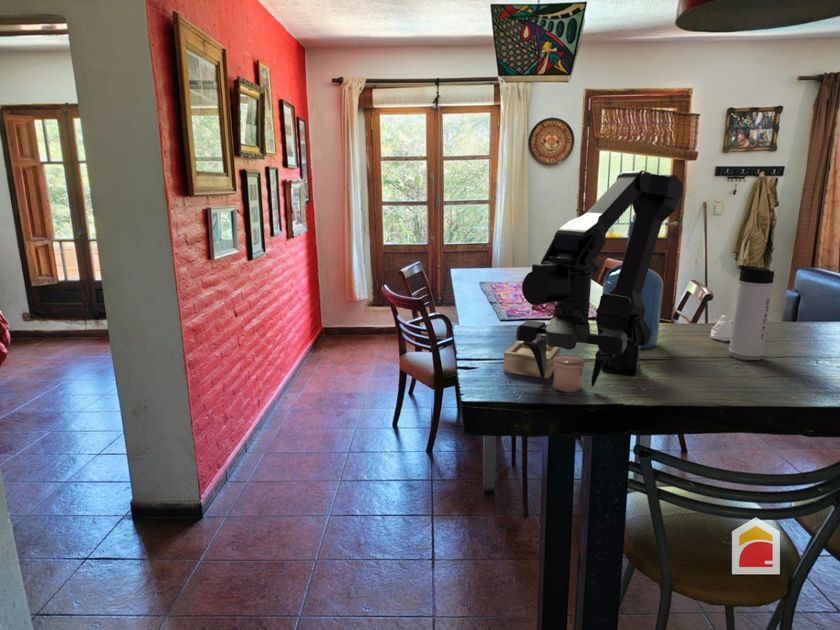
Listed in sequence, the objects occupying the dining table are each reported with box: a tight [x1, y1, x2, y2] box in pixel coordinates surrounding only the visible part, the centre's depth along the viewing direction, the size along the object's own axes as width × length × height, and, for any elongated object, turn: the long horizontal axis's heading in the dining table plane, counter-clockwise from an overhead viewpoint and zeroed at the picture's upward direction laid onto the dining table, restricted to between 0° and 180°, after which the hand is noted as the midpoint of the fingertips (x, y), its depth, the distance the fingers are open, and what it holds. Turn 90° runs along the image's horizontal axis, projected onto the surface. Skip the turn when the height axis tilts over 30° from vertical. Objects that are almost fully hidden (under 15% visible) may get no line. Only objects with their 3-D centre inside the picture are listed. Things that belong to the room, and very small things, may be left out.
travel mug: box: [728, 264, 775, 361], centre depth 114 cm, size 6×7×20 cm
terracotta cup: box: [552, 356, 585, 393], centre depth 98 cm, size 5×5×5 cm
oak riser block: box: [503, 340, 561, 379], centre depth 109 cm, size 9×9×4 cm
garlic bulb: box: [710, 315, 733, 341], centre depth 130 cm, size 6×6×5 cm
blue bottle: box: [601, 214, 664, 350], centre depth 124 cm, size 14×13×30 cm
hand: (567, 381), depth 99 cm, fingers open, 9 cm apart
